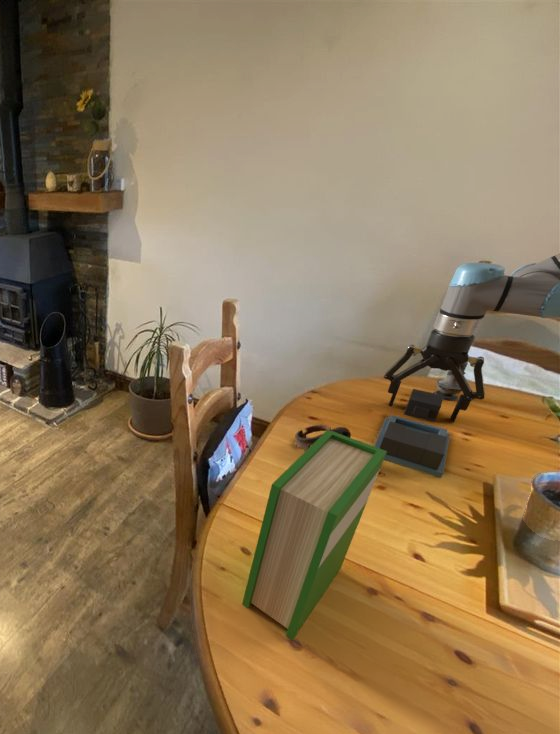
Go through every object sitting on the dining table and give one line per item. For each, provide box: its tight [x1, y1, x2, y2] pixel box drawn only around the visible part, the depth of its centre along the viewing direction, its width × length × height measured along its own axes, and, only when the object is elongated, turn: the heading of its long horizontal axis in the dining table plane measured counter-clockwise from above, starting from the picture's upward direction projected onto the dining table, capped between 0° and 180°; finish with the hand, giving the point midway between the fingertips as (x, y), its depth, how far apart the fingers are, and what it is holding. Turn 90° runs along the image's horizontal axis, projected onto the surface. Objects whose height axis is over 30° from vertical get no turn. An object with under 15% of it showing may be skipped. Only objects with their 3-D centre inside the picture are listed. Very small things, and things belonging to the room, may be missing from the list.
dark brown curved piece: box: [294, 423, 352, 452], centre depth 93 cm, size 12×10×8 cm
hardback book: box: [241, 430, 387, 641], centre depth 61 cm, size 18×7×24 cm, turn 129°
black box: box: [403, 388, 444, 423], centre depth 105 cm, size 6×8×4 cm
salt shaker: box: [432, 362, 469, 402], centre depth 110 cm, size 6×6×12 cm
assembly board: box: [373, 414, 451, 479], centre depth 94 cm, size 12×18×5 cm, turn 136°
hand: (420, 411), depth 106 cm, fingers open, 12 cm apart
